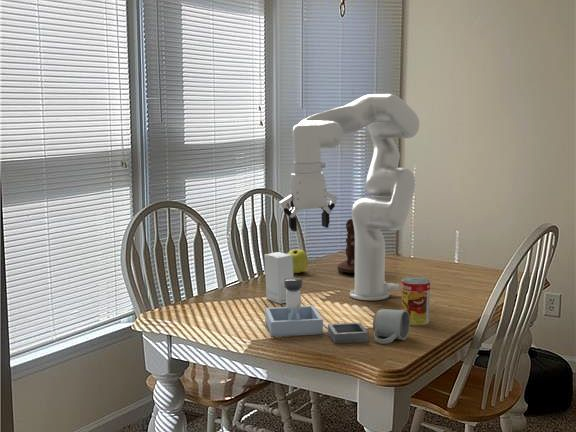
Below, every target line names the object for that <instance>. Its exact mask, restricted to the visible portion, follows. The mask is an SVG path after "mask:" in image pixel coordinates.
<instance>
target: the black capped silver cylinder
mask: <svg viewBox="0 0 576 432" xmlns="http://www.w3.org/2000/svg"><path fill="white" fill-rule="evenodd" d="M284 287H285V288H286V303H285V304H286V305H285V307H286V320H301V306H302V301H301V300H302V297H301V296H302V294H301V293H302V292H301V289H302V288H303V278H301V277H294V276H293V278H286V279H284Z"/></svg>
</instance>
